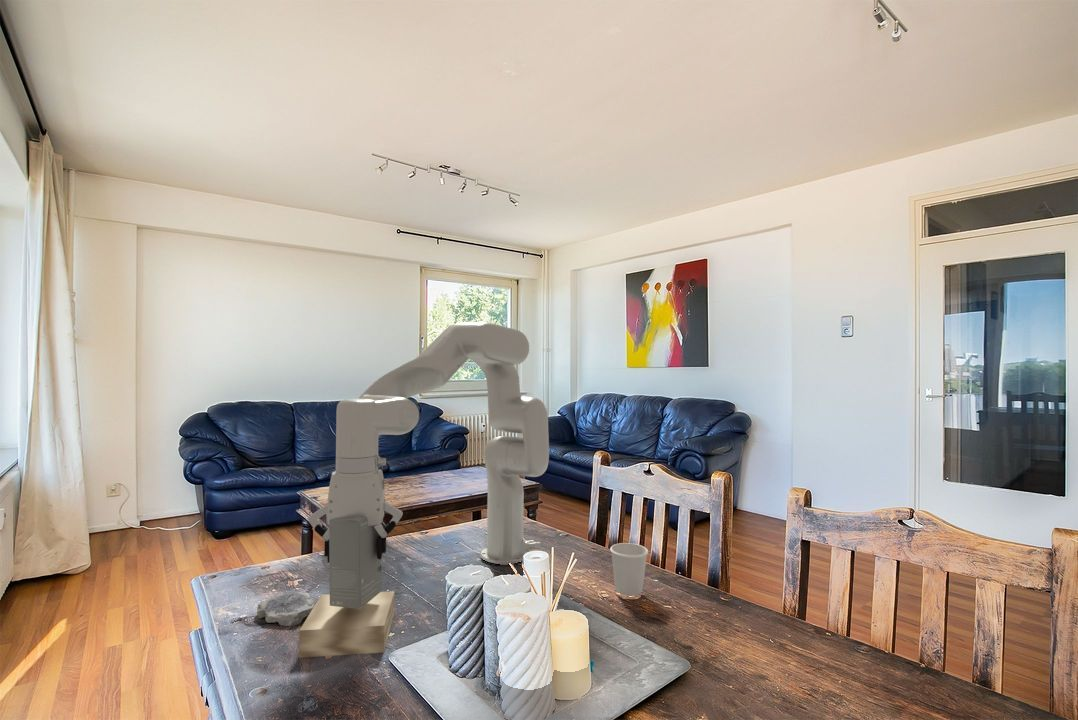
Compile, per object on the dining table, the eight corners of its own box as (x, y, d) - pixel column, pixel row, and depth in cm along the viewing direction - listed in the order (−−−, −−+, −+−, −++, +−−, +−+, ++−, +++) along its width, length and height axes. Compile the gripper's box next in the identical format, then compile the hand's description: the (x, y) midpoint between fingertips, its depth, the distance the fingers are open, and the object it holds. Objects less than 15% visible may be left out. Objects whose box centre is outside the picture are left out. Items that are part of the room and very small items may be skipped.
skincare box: (360, 611, 92) (362, 521, 92) (324, 606, 94) (326, 518, 94) (383, 591, 101) (385, 509, 101) (350, 587, 102) (352, 506, 102)
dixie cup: (632, 584, 121) (633, 540, 121) (655, 598, 113) (656, 552, 113) (602, 590, 117) (602, 545, 117) (623, 605, 110) (624, 558, 110)
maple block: (394, 616, 104) (394, 591, 104) (383, 654, 90) (384, 625, 91) (321, 620, 102) (321, 594, 102) (298, 660, 88) (299, 630, 89)
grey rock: (244, 605, 101) (287, 577, 110) (246, 624, 102) (289, 594, 111) (286, 623, 97) (327, 592, 106) (288, 642, 98) (329, 610, 107)
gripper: (405, 460, 103) (404, 548, 103) (312, 462, 99) (310, 554, 99) (403, 467, 96) (402, 562, 95) (302, 470, 92) (301, 569, 92)
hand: (355, 557), depth 97 cm, fingers closed on skincare box, 8 cm apart
